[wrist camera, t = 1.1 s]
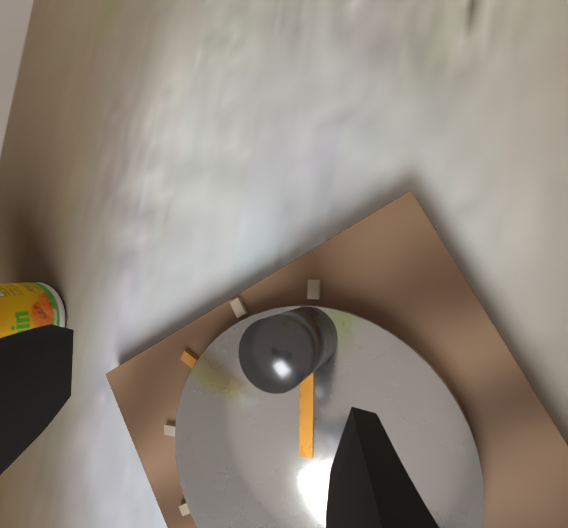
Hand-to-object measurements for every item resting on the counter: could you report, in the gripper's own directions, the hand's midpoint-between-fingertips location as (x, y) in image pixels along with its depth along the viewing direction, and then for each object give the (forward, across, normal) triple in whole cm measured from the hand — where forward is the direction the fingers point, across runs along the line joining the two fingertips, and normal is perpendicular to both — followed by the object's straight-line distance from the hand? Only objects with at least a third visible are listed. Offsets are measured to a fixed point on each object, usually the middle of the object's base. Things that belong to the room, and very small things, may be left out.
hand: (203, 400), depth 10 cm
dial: (+9, -4, +9) cm, 13 cm away
